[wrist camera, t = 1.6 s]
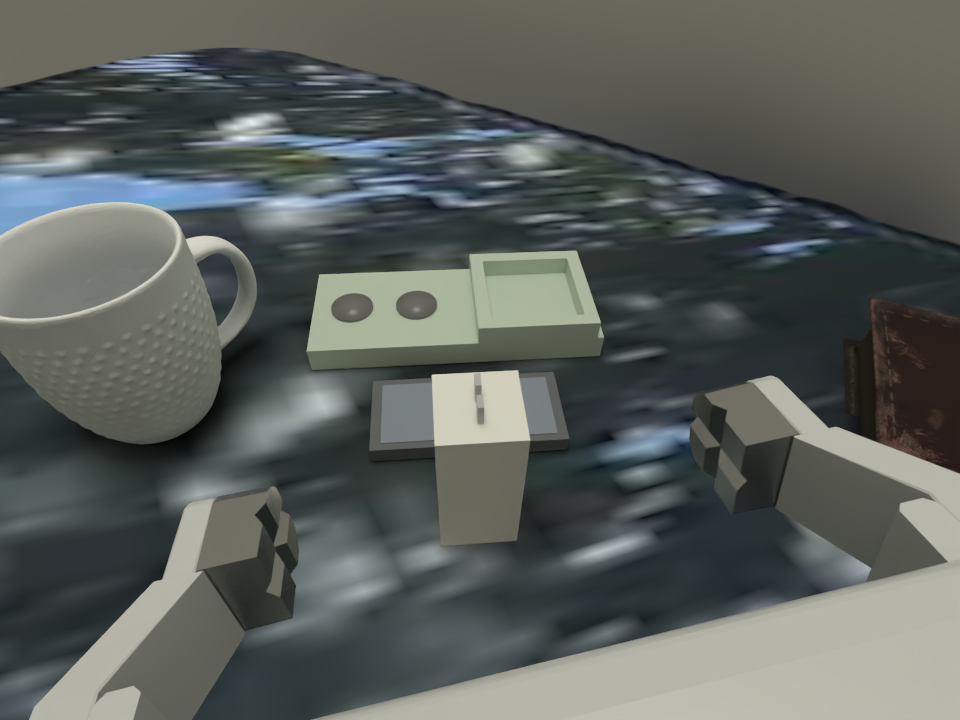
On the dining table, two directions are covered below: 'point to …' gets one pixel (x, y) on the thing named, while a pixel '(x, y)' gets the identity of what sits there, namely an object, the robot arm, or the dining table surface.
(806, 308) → the dining table surface
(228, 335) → the mug
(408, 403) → the phone
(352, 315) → the green desk organizer
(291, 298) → the dining table surface
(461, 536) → the charger
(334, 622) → the dining table surface
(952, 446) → the diary
